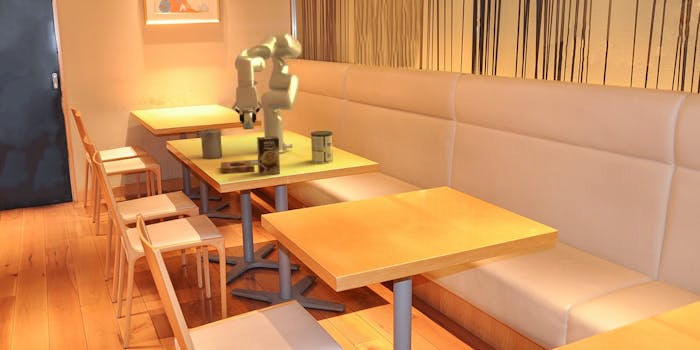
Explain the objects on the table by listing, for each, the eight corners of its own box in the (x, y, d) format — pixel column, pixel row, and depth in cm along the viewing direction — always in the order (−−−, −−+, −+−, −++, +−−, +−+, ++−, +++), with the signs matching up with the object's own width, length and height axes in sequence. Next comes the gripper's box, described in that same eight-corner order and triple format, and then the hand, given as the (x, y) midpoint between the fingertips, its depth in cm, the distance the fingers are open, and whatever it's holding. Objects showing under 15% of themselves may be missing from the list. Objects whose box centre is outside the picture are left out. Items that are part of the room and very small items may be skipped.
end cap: (254, 127, 306) (253, 108, 304) (255, 129, 300) (254, 110, 298) (241, 127, 304) (240, 109, 302) (242, 129, 299) (241, 110, 297)
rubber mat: (259, 160, 312) (259, 159, 312) (261, 164, 303) (261, 163, 303) (238, 161, 310) (238, 160, 310) (240, 165, 300) (240, 164, 300)
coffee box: (259, 175, 280) (258, 139, 276) (258, 172, 286) (256, 137, 282) (280, 174, 282) (279, 138, 278) (278, 171, 288) (276, 135, 285)
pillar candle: (212, 154, 328) (209, 125, 324) (226, 156, 323) (224, 127, 319) (198, 158, 320) (196, 128, 316) (213, 160, 315) (210, 130, 311)
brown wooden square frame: (251, 165, 300) (251, 160, 300) (254, 171, 287) (254, 166, 287) (221, 167, 297) (220, 162, 297) (223, 173, 284) (222, 168, 283)
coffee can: (315, 158, 314) (314, 130, 311) (335, 159, 311) (335, 131, 308) (308, 163, 304) (307, 133, 301) (329, 164, 301) (328, 134, 298)
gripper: (263, 82, 303) (265, 120, 307) (227, 84, 299) (229, 122, 303) (265, 84, 296) (267, 122, 300) (228, 85, 292) (230, 124, 296)
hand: (248, 122), depth 302 cm, fingers closed on end cap, 5 cm apart
